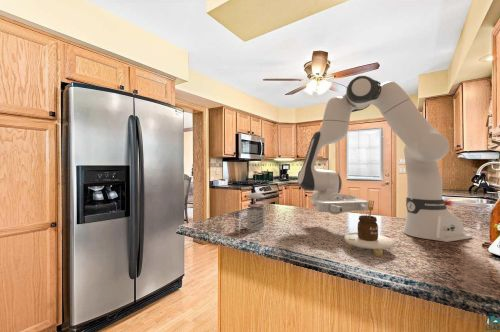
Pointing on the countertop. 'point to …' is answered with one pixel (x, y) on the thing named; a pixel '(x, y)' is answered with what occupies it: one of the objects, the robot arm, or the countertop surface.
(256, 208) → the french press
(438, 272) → the countertop surface
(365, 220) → the utensil holder
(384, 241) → the leveling stand
